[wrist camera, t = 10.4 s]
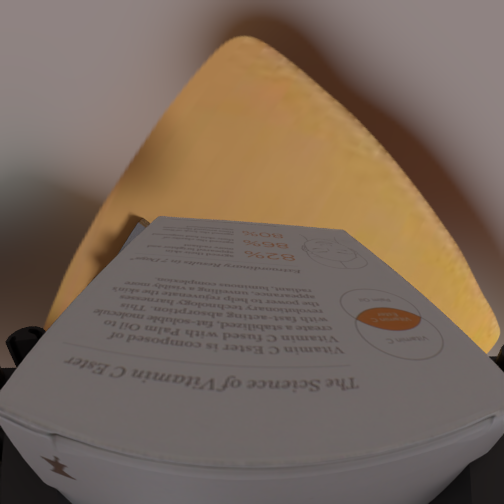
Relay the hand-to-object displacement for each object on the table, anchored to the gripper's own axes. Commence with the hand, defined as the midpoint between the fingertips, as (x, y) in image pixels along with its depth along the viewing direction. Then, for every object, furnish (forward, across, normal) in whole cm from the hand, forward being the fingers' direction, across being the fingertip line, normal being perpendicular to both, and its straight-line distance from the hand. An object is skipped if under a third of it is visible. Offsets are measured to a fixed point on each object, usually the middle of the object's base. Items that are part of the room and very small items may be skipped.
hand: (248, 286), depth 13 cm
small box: (+1, 0, 0) cm, 1 cm away
